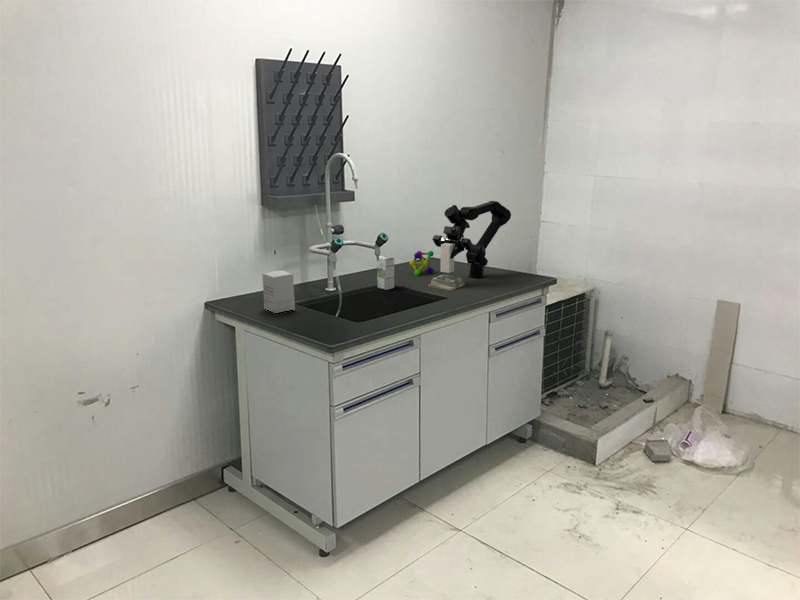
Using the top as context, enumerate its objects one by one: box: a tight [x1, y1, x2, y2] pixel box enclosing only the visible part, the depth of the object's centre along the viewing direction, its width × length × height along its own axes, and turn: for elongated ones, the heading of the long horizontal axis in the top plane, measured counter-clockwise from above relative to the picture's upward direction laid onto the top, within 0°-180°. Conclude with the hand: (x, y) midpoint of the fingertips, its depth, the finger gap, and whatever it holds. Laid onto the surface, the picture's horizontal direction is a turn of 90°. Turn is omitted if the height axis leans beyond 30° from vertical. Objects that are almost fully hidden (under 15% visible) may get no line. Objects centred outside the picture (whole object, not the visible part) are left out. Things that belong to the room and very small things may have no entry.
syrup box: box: [376, 254, 395, 291], centre depth 282 cm, size 6×6×14 cm
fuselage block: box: [439, 243, 455, 274], centre depth 285 cm, size 4×4×12 cm
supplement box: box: [261, 269, 296, 314], centre depth 247 cm, size 9×9×15 cm
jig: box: [427, 274, 466, 291], centre depth 288 cm, size 12×12×4 cm
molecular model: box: [409, 250, 434, 277], centre depth 310 cm, size 12×7×12 cm, turn 125°
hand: (446, 257), depth 284 cm, fingers closed on fuselage block, 4 cm apart
